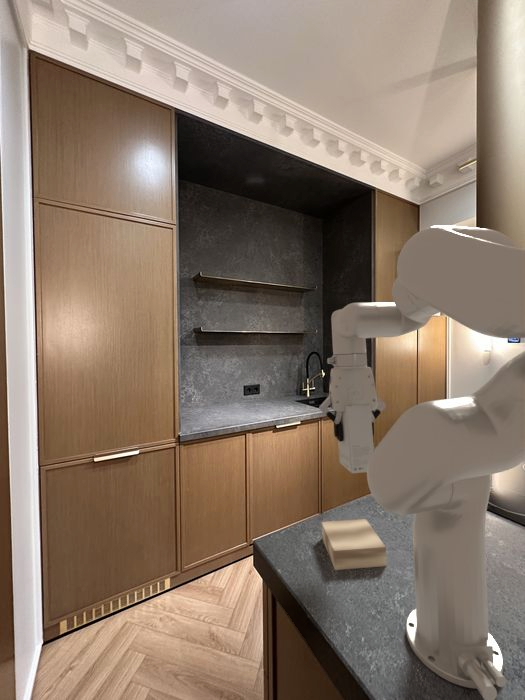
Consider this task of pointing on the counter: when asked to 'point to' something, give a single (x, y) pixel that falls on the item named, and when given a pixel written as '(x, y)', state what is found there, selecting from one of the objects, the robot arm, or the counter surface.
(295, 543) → the counter surface
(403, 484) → the robot arm
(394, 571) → the counter surface
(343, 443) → the skincare box
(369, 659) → the counter surface
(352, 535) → the birch block
